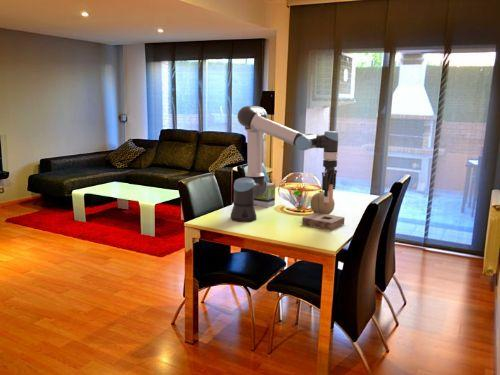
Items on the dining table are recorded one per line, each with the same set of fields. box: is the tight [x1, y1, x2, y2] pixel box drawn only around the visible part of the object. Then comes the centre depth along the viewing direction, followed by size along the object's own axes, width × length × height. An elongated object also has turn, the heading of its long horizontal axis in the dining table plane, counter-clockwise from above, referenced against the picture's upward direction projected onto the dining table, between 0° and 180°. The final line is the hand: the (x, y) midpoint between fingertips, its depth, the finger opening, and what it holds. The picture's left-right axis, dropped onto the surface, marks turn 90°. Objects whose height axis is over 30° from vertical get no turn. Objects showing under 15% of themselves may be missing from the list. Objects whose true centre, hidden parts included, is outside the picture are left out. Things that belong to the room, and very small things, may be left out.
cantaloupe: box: [309, 190, 336, 215], centre depth 262 cm, size 15×15×15 cm
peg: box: [324, 184, 334, 207], centre depth 240 cm, size 4×4×12 cm
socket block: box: [301, 212, 346, 231], centre depth 244 cm, size 18×16×4 cm
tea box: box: [254, 182, 276, 208], centre depth 287 cm, size 15×10×15 cm, turn 58°
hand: (328, 201), depth 240 cm, fingers closed on peg, 4 cm apart
